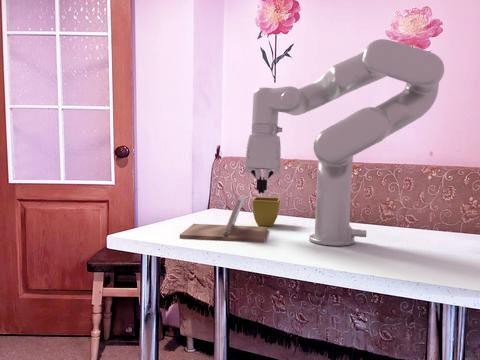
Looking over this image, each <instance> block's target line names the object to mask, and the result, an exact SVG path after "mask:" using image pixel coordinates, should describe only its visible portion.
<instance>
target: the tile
mask: <svg viewBox="0 0 480 360" xmlns="http://www.w3.org/2000/svg"><path fill="white" fill-rule="evenodd" d="M245 198H246V195H244V194H241V195H240V196H238V198H237V199H236V200H235V201H236V202H235V204H234V207H233V209H232V211H231V214H230V217H229V219H228V222H227V224H226V225H227V227H226V229H225V231H227V232H229V231H230V230H231V229H232V227H233V226H235V225H236V224H235V223H236V221H237V219H238V216H239V214H240V212H241V209H242V206H243V204H244V202H245ZM234 224H235V225H234Z"/></svg>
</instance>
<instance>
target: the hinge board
mask: <svg viewBox="0 0 480 360" xmlns="http://www.w3.org/2000/svg"><path fill="white" fill-rule="evenodd" d="M226 227H227V224H226V225H225V224H210V223H209V224H207V223H193V224H192V225H190V226H189V227H188V228H186V229H185V230H184V231H182V232H181V233H180V234H179V239H188V240H189V239H191V240H207V241H208V240H212V241H229V242H230V241H232V242H250V243H251V242H255V243H265V239H266V235H267V232H268V226H258V225H257V226H254V225H253V226H251V225H250V226H249V225H236V224H234V226H233V227H232V229H231V230H230V231H229V232H227V231H225V229H226Z"/></svg>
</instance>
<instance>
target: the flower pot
mask: <svg viewBox="0 0 480 360" xmlns="http://www.w3.org/2000/svg"><path fill="white" fill-rule="evenodd" d="M251 202H252V213H253V218H254V221H255V223H256V225H257V226H258V227H273V226H274V224H275V222H276V220H277V219H278V216H279V211H280V206H281V205H280V202H281V198H280V197H270V196H269V197H266V196H264V197H263V196H255V197H254V198H253V199H252V200H251Z"/></svg>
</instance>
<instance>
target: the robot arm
mask: <svg viewBox="0 0 480 360" xmlns="http://www.w3.org/2000/svg"><path fill="white" fill-rule="evenodd" d="M444 74H445V64H444V62H443V59H442V58H440V56H439V55H438V54H436V53H433V52H432V51H428V50H425V49H421V48H419V47H414V46H411V45H407V44H404V43H400V42H397V41H394V40H391V39H385V38H383V39H382V38H381V39H380V38H379V39H376V40H373V41H372V42H370V43H368V45H367V46H366V47H365V49H364V51H363V52H360V53H358V54H357V55H354V56H352V57H349V58H348V59H345V60H343V61H341V62H338V63H335V64H334V65H332V66H331V67H330V68H329V69H328V70H327V71H326V72H325V73H324V74H323V75H322V76H321V77H320V78H318V79H317V80H314V82H311V83H309V84H307V85H304V86H302V87H300V88H297V87H295V86H292V85H291V86H290V85H289V86H282V87H274V88H273V87H258V88H255V89H254V90H253V96H252V97H253V98H252V116H251V117H252V119H251V134H249V135H248V137H247V138H248V139H247V146H246V154H245V167H244V170H243V171H244V172H245V173H249V174H252V175H253V177H254V178H255V179H256V188H255V189H256V191H258V192H257V193H258V194H265V191H267V190H268V180H269V179H270V177H272V176H273V175H279V174H281V172H282V171H281V159H282V158H281V149H282V148H281V137H280V135H278V133H283V127H280V126H278V124H279V113H285V114H288V115H291V116H301V115H303V114H305V113H308V112H310V111H314V110H316V109H318V108H319V107H323V106H325V105H326V104H328V103H330V102H332V101H335V100H337V99H339V98H341V97H343V96H345V95H347V94H349V93H351V92H354V91H356V90H358V89H360V88H362V87H364V86H367V85H371V84H373V83H375V82H377V81H380V80H381V79H384V78H386V77H389V78H391V79H395V80H398V81H401V82H404V83H406V86H405V87H404V89H403V90H402V91H401V92H399V93H398V94H396V95H394V96H391V97H390V98H388V99H387V100H386V101H383V102H381V103H380V104H378V105H376V106H375V107H372V106H369V107H364V108H361V109H359V110H357V111H356V112H353V113H352V114H350V115H348V116H347V117H344V118H342V119H341V120H339V121H338V122H336V123H334V124H332V125H331V126H329V127H326V128H325V129H324V130H322V131H320V132H319V133H318V134H317V136H315V139H314V141H313V142H314V143H313V152H314V155H315V157H316V158H317V160H318V161H317V172H316V173H317V174H316V193H315V196H316V197H315V219H314V233H312V234H310V235H309V236H308V237H309V238H308V239H309V241H310V242H311V243H314V244H317V245H323V246H331V247H332V246H333V247H335V246H336V247H341V246H342V247H343V246H351V245H353V244H355V237H359V238H367V233H368V232H367V230H363V229H357V228H356V229H355V228H352V226H351V225H350V220H351V218H350V216H351V194H352V177H353V176H352V175H353V160H354V156H355V155H358V154H359V153H361V152H363V151H365V150H367V149H369V148H371V147H373V146H375V145H376V144H379V143H380V142H382V141H383V140H384V139H386V138H387V137H390V136H391V135H392V134H394V133H396V132H398V131H400V130H401V129H403V128H406V126H408V125H411V124H412V123H414V122H415V121H417V120H420V118H422V117H423V116H424V115H425V114H427V112H428V111H429V110H430V109H431V108H432V107H433V105H434V103H435V102H436V99H437V97H438V93H439V85H440V81H441V80H442V79H443V77H444ZM261 170H264V175H263V177H262V176H261Z"/></svg>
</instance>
